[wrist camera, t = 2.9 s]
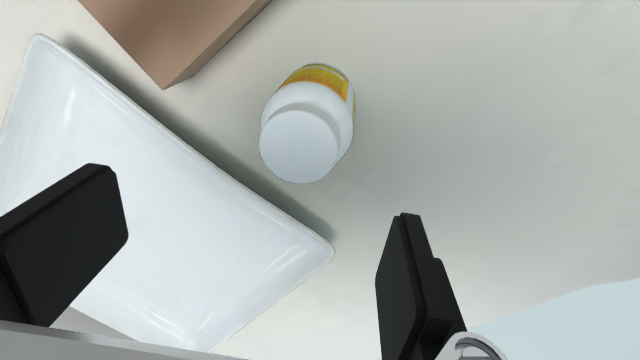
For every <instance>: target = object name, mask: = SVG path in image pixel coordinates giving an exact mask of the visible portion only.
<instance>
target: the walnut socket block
mask: <svg viewBox="0 0 640 360" xmlns="http://www.w3.org/2000/svg"><path fill="white" fill-rule="evenodd" d="M78 1H79V2H80V3H81V4H82V5H83V6H84V7H85V8H86V9H87V11H88V12H89V13H90V14H91V15H92V16H93V17H94V18H95V19H96V20H97V21H98V22H99V23H100V24H101V25H102V26H103V28H104V29H105V30H106V31H107V32H108V33H109V34H110V35H111V36H112V37H113V38H114V39H115V40H116V41H117V42H118V44H119V45H120V46H121V47H122V48H123V49H124V50H125V51H126V52H127V53H128V54H129V55H130V56H131V57H132V58H133V59H134V61H135V62H136V63H137V64H138V65H139V66H140V67H141V68H142V69H143V70H144V71H145V72H146V73H147V74H148V75H149V77H150V78H151V79H152V80H153V81H154V82H155V83H156V84H157V85H158V86H159V87H160V88H161V89H162V90H165V89H167V88H169V87H171V86H174V85H176V84H178V83H180V82H182V81H184V80H186V79H188V78H191V77H192V76H193V75H194V74H195V73H196V72H197V71H198V70H199V69H200V68H201V67H202V66H203V65H204V64H205V63H207V62H208V61H209V60H210V59H211V58H212V57H213V56H214V55H215V54H216V53H217V52H218V51H219V50H220V49H221V48H222V47H224V46H225V45H226V44H227V43H228V42H229V41H230V40H231V39H232V38H233V37H234V36H235V35H236V34H237V33H238V32H239V31H241V30H242V29H243V28H244V27H245V26H246V25H247V24H248V23H249V22H250V21H251V20H252V19H253V18H254V17H255V16H256V15H258V14H259V13H260V12H261V11H262V10H263V9H264V8H265V7H266V6H267V5H268V4H269V3H270V2H271V1H272V0H78Z"/></svg>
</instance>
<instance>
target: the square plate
mask: <svg viewBox="0 0 640 360" xmlns="http://www.w3.org/2000/svg"><path fill="white" fill-rule="evenodd" d="M87 163H95V164H101V165H107V166H109V167H110V168H111V169H112V171H114V172H115V173H116V175H117V180H118V185H119V190H120V195H121V200H122V204H123V209H124V214H125V219H126V224H127V228H128V234H129V236H128V240H127V242H126V244H125V245H124V246H123V247H122V249H121V250H120V251H119V252H118V253H117V254H116V255H115V256H114V257H113V258H112V259H111V260H110V262H109V263H108V264H107V265H106V266H105V267H104V268H103V269H102V270H101V271H100V272H99V273H98V275H97V276H96V277H95V278H94V279H93V280H92V281H91V282H90V283H89V284H88V285H87V287H86V288H85V289H84V290H83V291H82V292H81V293H80V294H79V295H78V296H77V297H76V298H75V300H74V301H73V302H72V303H71V304H70V305H69V306H71V307H72V308H74V309H76V310H78V311H80V312H82V313H84V314H86V315H88V316H90V317H92V318H93V319H95V320H97V321H99V322H101V323H103V324H105V325H107V326H109V327H111V328H113V329H115V330H117V331H119V332H121V333H123V334H125V335H127V336H129V337H131V338H133V339H136V340H137V341H139V342H144V343H150V344H156V345H162V346H169V347H175V348H181V349H187V350H193V351H200V352H206V353H211V352H213V351H214V350H215V349H216V348H218V347H219V346H220V345H221V344H223V343H224V342H225V341H226V340H228V339H229V338H230V337H232V336H233V335H234V334H235V333H237V332H238V331H239V330H240V329H242V328H243V327H244V326H246V325H247V324H248V323H250V322H251V321H252V320H253V319H255V318H256V317H257V316H259V315H260V314H261V313H263V312H264V311H265V310H267V309H268V308H269V307H271V306H272V305H273V304H275V303H276V302H277V301H279V300H280V299H281V298H283V297H284V296H285V295H287V294H288V293H289V292H291V291H292V290H293V289H295V288H296V287H297V286H299V285H300V284H301V283H303V282H304V281H305V280H307V279H308V278H309V277H310V276H312V275H313V274H314V273H316V272H317V271H318V270H319V269H321V268H322V267H323V266H324V265H326V264H327V263H328V262H329V261H330V260H332V259H333V257H334V256H335V253H336V251H335V249H334V247H333V246H332V245H331V244H330V243H329V242H327V241H326V240H325V239H324V238H322V237H321V236H320V235H318V234H317V233H315V232H314V231H313V230H311V229H310V228H308V227H307V226H305V225H304V224H302V223H301V222H299V221H298V220H296V219H295V218H293V217H291V216H290V215H288V214H287V213H285V212H284V211H282V210H281V209H279V208H277V207H276V206H274V205H273V204H271V203H270V202H268V201H267V200H265V199H264V198H262V197H261V196H259V195H258V194H257V193H255V192H254V191H252V190H250V189H249V188H247V187H246V186H245V185H243V184H242V183H240V182H239V181H237V180H236V179H234V178H233V177H231V176H230V175H228V174H227V173H226V172H225V171H223V170H222V169H220V168H219V167H217V166H216V165H215V164H214V163H212V162H211V161H210V160H208V159H207V158H206V157H204V156H203V155H202V154H200V153H199V152H198V151H196V150H195V149H194V148H192V147H191V146H190V145H188V144H187V143H186V142H185V141H183V140H182V139H181V138H179V137H178V136H177V135H175V134H174V133H173V132H172V131H170V130H169V129H167V128H166V127H165V126H164V125H163V124H161V123H160V122H159V121H158V120H156V119H155V118H154V117H153V116H152V115H150V114H149V113H148V112H146V111H145V110H144V109H143V108H141V107H140V106H139V105H138V104H137V103H135V102H134V101H133V100H132V99H131V98H129V97H128V96H127V95H125V94H124V93H122V92H121V91H120V90H119V89H118V88H116V87H115V86H114V85H113V84H111V83H110V82H109V81H108V80H106V79H105V78H104V77H103V76H102V75H100V74H99V73H98V72H97V71H95V70H94V69H93V68H91V67H90V66H89V65H88V64H86V63H85V62H84V61H83V60H82V59H80V58H79V57H77V56H76V55H75V54H73V53H72V52H70V51H69V50H68V49H66V48H65V47H63V46H62V45H61V44H59V43H58V42H56V41H55V40H53V39H52V38H50V37H48V36H46V35H43V34H41V33H39V34H35V35H33V36H32V37H31V39H30V40H29V43H28V46H27V48H26V51H25V54H24V57H23V60H22V63H21V66H20V69H19V72H18V75H17V78H16V81H15V85H14V88H13V91H12V95H11V98H10V101H9V105H8V108H7V111H6V115H5V118H4V121H3V125H2V128H1V132H0V217H1V216H2V215H4V214H6V213H7V212H9V211H11V210H12V209H14V208H15V207H17V206H19V205H20V204H22V203H23V202H25V201H27V200H28V199H30V198H32V197H33V196H35V195H36V194H38V193H40V192H41V191H43V190H44V189H46V188H48V187H49V186H51V185H53V184H54V183H56V182H57V181H59V180H61V179H62V178H64V177H66V176H67V175H69V174H70V173H72V172H74V171H75V170H77V169H78V168H80V167H82V166H83V165H85V164H87Z"/></svg>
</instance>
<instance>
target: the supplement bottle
mask: <svg viewBox="0 0 640 360" xmlns="http://www.w3.org/2000/svg"><path fill="white" fill-rule="evenodd" d="M354 109H355V98H354V91H353V88H352V86H351V84H350V82H349V80H348V79H347V77H346V76H345V75H344V74H343V73H342V72H341V71H339V70H338V69H336V68H334V67H332V66H329V65H326V64H321V63H313V64H308V65H305V66H303V67H301V68H299V69H297V70H296V71H295V72H294V73H293V74H292V75H291V76H290V77H289V78H288V79H287V80H286V81H285V82H284V83H283V84H282V85H281V86H280V87H279V89H278V90H277V91H276V92H275V93H274V94H273V95H272V96H271V97H270V98H269V100H268V101H267V103H266V105H265V107H264V109H263V112H262V115H261V122H260V127H261V133H260V137H259V151H260V155H261V158H262V160H263V162H264V164H265V165H266V167H267V168H268V169H269V170H270V171H271V172H272V173H273V174H274V175H275V176H277V177H279V178H280V179H282V180H284V181H287V182H290V183H296V184H306V183H311V182H315V181H317V180H319V179H321V178H323V177H324V176H325V175H327V174H328V173H329V172H330V170H331V169H332V168H333V166H334V164H336V163H337V162H338V161H339V160H340V159H341V158H342V157H343V156H344V155H345V153H346V152H347V150H348V148H349V146H350V143H351V140H352V136H353V125H354Z"/></svg>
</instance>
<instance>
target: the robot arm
mask: <svg viewBox="0 0 640 360" xmlns="http://www.w3.org/2000/svg"><path fill="white" fill-rule="evenodd" d="M128 236H129V234H128V228H127V224H126V219H125V214H124V209H123V204H122V200H121V195H120V190H119V185H118V180H117V175H116V173H115V172H114V171H112V169H111V168H110V167H109V166H107V165H101V164H95V163H87V164H85V165H83V166H82V167H80V168H78V169H77V170H75V171H74V172H72V173H70V174H69V175H67V176H66V177H64V178H62V179H61V180H59V181H57V182H56V183H54V184H53V185H51V186H49V187H48V188H46V189H44V190H43V191H41V192H40V193H38V194H36V195H35V196H33V197H32V198H30V199H28V200H27V201H25V202H23V203H22V204H20V205H19V206H17V207H15V208H14V209H12V210H11V211H9V212H7V213H6V214H4V215H2V216H1V217H0V360H248V359H242V358H236V357H230V356H224V355H218V354H212V353H206V352H200V351H193V350H187V349H181V348H175V347H169V346H162V345H156V344H150V343H144V342H138V341H131V340H125V339H119V338H113V337H106V336H100V335H94V334H87V333H80V332H74V331H67V330H61V329H55V328H49V326H50V325H51V324H52V323H53V322H54V321H55V320H56V319H57V318H58V317H59V316H60V315H61V314H62V313H63V311H64V310H65V309H66V308H67V307H68V306H69V305H70V304H71V303H72V302H73V301H74V300H75V298H76V297H77V296H78V295H79V294H80V293H81V292H82V291H83V290H84V289H85V288H86V287H87V285H88V284H89V283H90V282H91V281H92V280H93V279H94V278H95V277H96V276H97V275H98V273H99V272H100V271H101V270H102V269H103V268H104V267H105V266H106V265H107V264H108V263H109V262H110V260H111V259H112V258H113V257H114V256H115V255H116V254H117V253H118V252H119V251H120V250H121V249H122V247H123V246H124V245H125V244H126V242H127V240H128ZM375 288H376V299H377V309H378V320H379V331H380V342H381V353H382V360H507V358H506V357H505V355H504V354H503V353H502V352H501V350H500V349H499V348H498V347H496V346H495V345H494V344H493V343H492V342H490V341H489V340H488V339H486V338H484V337H482V336H481V335H478V334H475V333H472V332H467V330H466V327H465V324H464V321H463V318H462V315H461V313H460V310H459V307H458V304H457V301H456V299H455V296H454V293H453V290H452V287H451V285H450V282H449V279H448V276H447V273H446V271H445V268H444V265H443V263H442V261H441V260H440V259H439V258H434V257H433V254H432V251H431V248H430V245H429V242H428V239H427V236H426V233H425V230H424V227H423V224H422V221H421V218H420V216H419V215H415V214H409V213H403V212H402V213H401V214H400V216H395V217H394V219H393V222H392V225H391V228H390V231H389V234H388V238H387V241H386V244H385V247H384V250H383V254H382V257H381V260H380V263H379V266H378V270H377V273H376V278H375Z"/></svg>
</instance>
